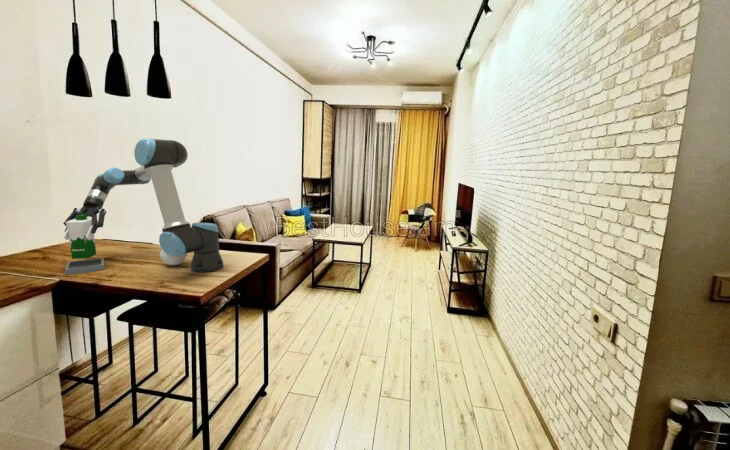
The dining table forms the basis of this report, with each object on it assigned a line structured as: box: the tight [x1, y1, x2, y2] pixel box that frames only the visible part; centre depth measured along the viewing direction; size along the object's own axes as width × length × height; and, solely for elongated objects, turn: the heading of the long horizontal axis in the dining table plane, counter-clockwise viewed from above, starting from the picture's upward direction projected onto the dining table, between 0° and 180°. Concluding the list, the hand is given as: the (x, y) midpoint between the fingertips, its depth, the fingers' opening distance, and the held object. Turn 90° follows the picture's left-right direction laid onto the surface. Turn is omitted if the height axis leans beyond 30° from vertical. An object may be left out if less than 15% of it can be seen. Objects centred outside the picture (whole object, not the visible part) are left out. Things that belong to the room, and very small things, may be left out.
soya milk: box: [66, 214, 97, 260], centre depth 161 cm, size 9×9×20 cm
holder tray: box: [64, 257, 105, 276], centre depth 164 cm, size 14×14×2 cm
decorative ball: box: [159, 248, 188, 266], centre depth 173 cm, size 12×12×12 cm
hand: (76, 238), depth 158 cm, fingers closed on soya milk, 9 cm apart
